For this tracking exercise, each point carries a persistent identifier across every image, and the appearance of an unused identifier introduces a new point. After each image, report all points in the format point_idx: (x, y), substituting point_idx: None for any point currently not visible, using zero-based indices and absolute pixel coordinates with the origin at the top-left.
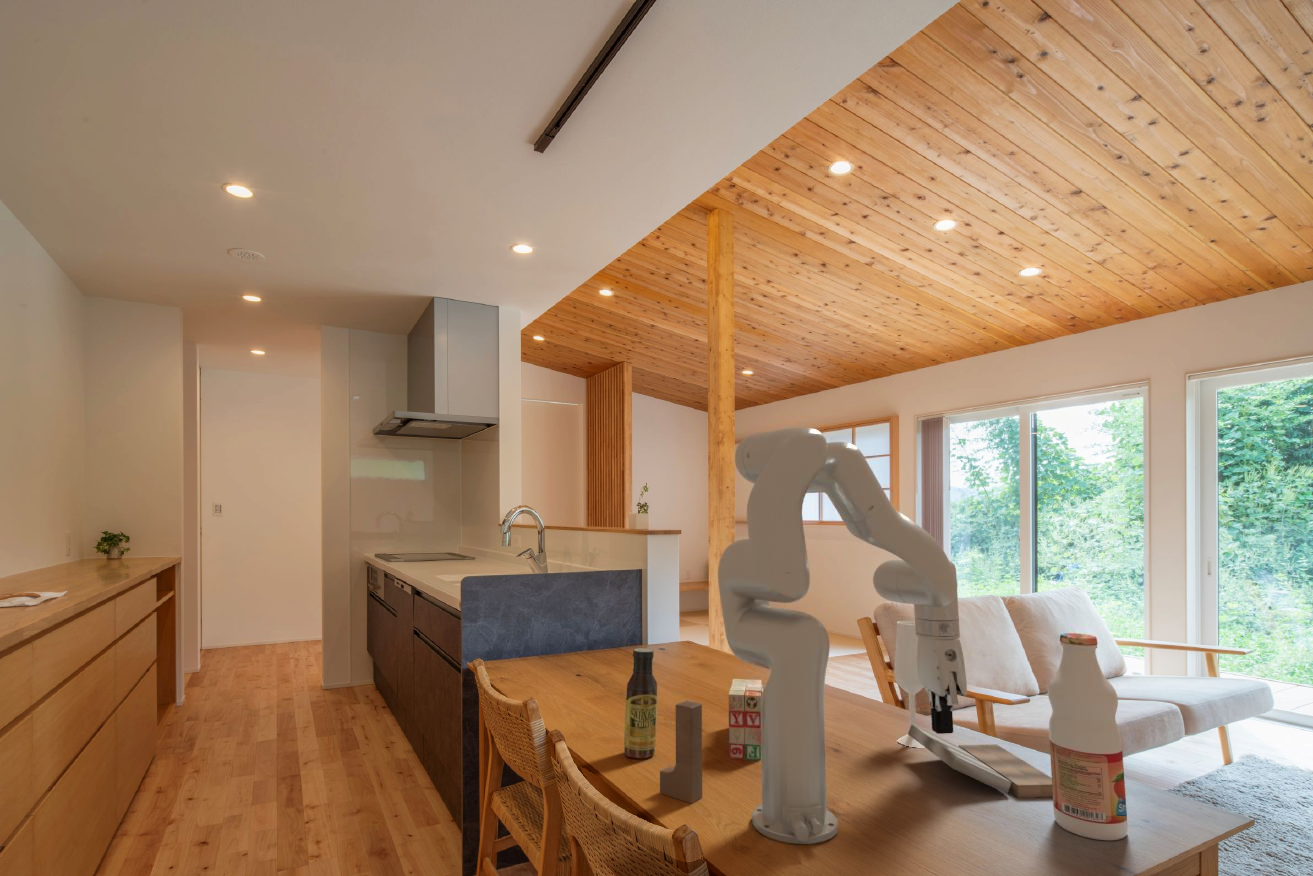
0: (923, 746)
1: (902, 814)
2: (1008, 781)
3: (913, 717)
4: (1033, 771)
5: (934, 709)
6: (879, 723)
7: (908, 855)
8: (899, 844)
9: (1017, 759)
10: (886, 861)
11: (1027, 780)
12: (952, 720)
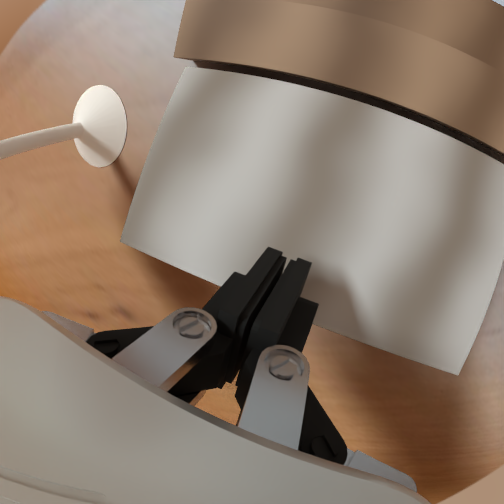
0: (121, 121)
1: (421, 427)
2: None
3: (47, 139)
4: (465, 8)
5: (223, 378)
6: (21, 132)
7: (484, 466)
8: (466, 463)
9: None
10: (472, 480)
11: None
12: (297, 295)
